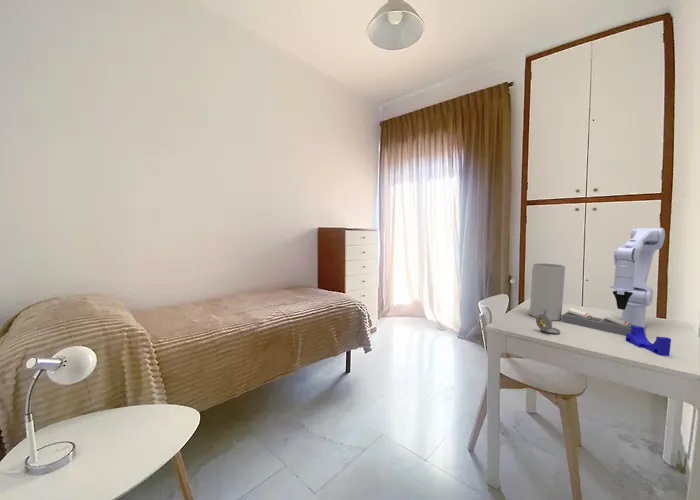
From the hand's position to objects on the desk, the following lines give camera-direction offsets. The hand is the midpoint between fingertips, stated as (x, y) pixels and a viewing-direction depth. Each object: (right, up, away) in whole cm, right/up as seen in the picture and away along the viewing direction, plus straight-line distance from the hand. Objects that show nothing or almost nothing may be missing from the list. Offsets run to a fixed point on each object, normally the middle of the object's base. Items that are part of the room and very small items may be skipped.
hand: (621, 308), depth 117 cm
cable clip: (-7, -11, -16) cm, 21 cm away
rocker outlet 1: (-10, -4, +10) cm, 15 cm away
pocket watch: (-32, -9, -1) cm, 33 cm away
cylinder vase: (-19, -8, +18) cm, 27 cm away
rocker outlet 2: (-2, -5, 0) cm, 6 cm away
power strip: (-5, -9, +4) cm, 11 cm away
